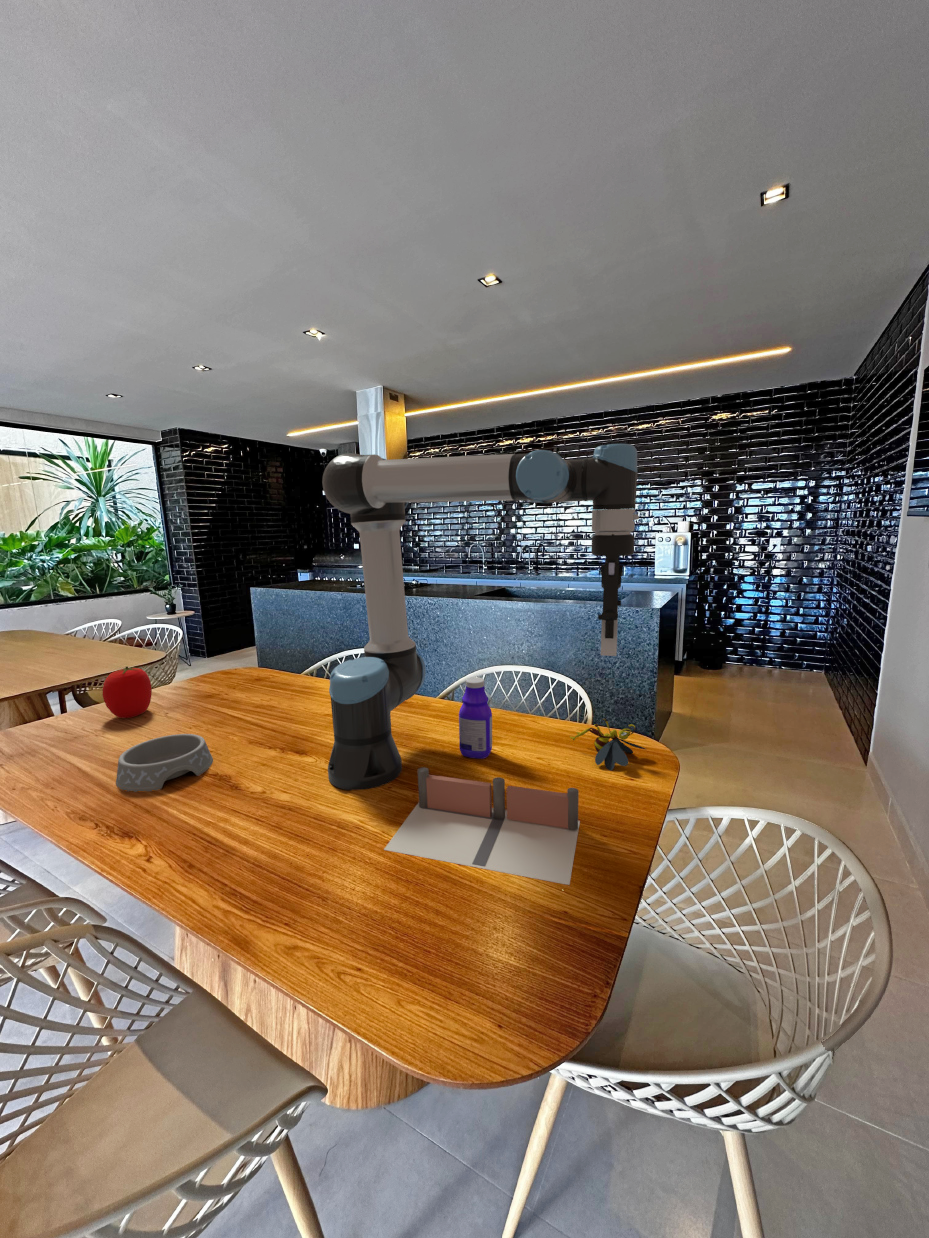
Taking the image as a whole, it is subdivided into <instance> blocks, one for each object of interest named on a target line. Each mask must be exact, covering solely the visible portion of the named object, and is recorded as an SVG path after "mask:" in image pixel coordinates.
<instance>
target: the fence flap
mask: <svg viewBox="0 0 929 1238" xmlns="http://www.w3.org/2000/svg"><path fill="white" fill-rule="evenodd" d="M579 795H580V794H579V789H578V788H575V787H569V788H567V791H566V792H558V791H557V792H556V791H550V790H543V789H536V788H529V787H521V786H516V785H515V786H513V785H508V786H507V787H506V810H507V819H511V820H517V821H524V822H530V823H536V824H543V825H549V826H556V827H562V828H568V829H570V830H577V829H578V821H579Z"/></svg>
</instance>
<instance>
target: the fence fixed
mask: <svg viewBox="0 0 929 1238" xmlns="http://www.w3.org/2000/svg"><path fill="white" fill-rule="evenodd" d="M505 782H506V780H505V778H504V777H499V776H497V777H494V778H493V779H492V783H491V782H487V781H486V782H484V781H478V780H471V779H462V778H456V777H449V776H448V777H447V776H442V775H434V774H430V772H429V768H428V767H425V766H424V767H419V768H418V769H417V789H418V803H419V807H420V808H433V809H440V810H446V811H452V812H459V813H465V814H471V815H478V816H484V817H491V815H492V808H493V810H494V819H496V820H503V819H504V818H505V810H506V786H505V785H506V783H505ZM492 794H493V795H492ZM492 797H493V799H492ZM492 801H493V804H492Z"/></svg>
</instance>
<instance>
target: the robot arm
mask: <svg viewBox="0 0 929 1238" xmlns="http://www.w3.org/2000/svg"><path fill="white" fill-rule="evenodd" d="M321 482H322V488H323V492H324V495H325V498H326V500H328V501H329V503H330V504H331V505H332V506H333V508H336V509H337V510H339V511H341V512H343V513H346V514H349V515H350V524H351V525H352V527H354V528H355V529H356V530H357V531H358V533H359V540H360V552H361V560H362V562H361V563H362V572H363V580H364V581H363V584H364V593H365V603H366V612H367V613H366V615H367V623H368V624H367V625H368V634H369V641H368V642H367V643H366V645H364V647H363V654H364V656H363V657H356V658H354V659H348V660H345V661H343V662H341V663H339V664H337V666H335V667H334V668H333V669H332V671H331V673H330V676H329V691H328V692H329V696H330V704H331V706H330V707H331V717H332V726H333V729H332V730H333V739H334V742H333V746H332V749H331V753H330V757H329V760H328V765H327V775H328V781H329V783H330V784H331V785H333V786H334V787H336V788H337V789H338V788H339V789H342V790H345V791H352V790H353V791H361V790H363V791H364V790H371V789H375V788H378V787H382V786H384V785H387V784H389V783H391V782H392V781H394V780H396V779H397V778H398V777H399V776H400V774H401V773H402V771H403V766H402V765H403V764H402V763H403V762H402V757H401V754H400V751H399V750H398V747H397V744H396V742H395V740H394V738H393V734H392V721H391V720H392V717H391V711H393V710H394V709H396V708H397V707H398V706H400V705H401V704H402V703H404V702H405V701H407V700H409V699H410V698H413V696H414V695H416V693H417V692H418V691H419V690H420V689H421V688H422V686H423V684H424V682H425V679H426V675H427V673H426V672H427V671H426V664H425V661H424V659H423V657H422V656H421V655H420V654H419V652H418V651H417V644H416V642H415V641H414V640H413V639H411V638H410V637H409V632H408V631H409V630H408V619H407V607H406V594H405V583H404V572H403V571H404V570H403V560H402V559H403V557H402V549H401V548H402V547H401V537H400V536H401V535H400V530H401V528H402V527H403V525H404V524H405V523H406V511H405V509H406V508H407V506H408V505H409V504H410V503H437V502H438V503H439V502H441V503H443V502H447V503H449V502H491V501H492V502H494V501H495V502H496V501H497V502H498V501H499V502H500V501H501V502H503V501H506V502H507V501H508V502H509V501H520V502H522V501H523V502H524V501H525V502H526V501H529V502H531V503H541V504H551V503H570V502H589V501H591V502H592V510H591V531H592V532H593V533H594V535H592V537H591V550H590V551H591V554H592V555H593V556H598V557H605V559H604V561H605V562H604V563H603V564H601V565H600V576H601V580H600V581H601V584H600V586H601V588H602V589H603V590H602V591H603V592H602V593H603V596H602V612H601V614H598V615H597V620H600V621H601V629H600V630H601V635H600V656H607V657H608V656H609V657H610V656H611V657H616V656H617V651H618V649H617V648H618V623H619V622H618V621H619V610H618V609H619V607H621V606H622V600H621V599H619V589H620V588H622V577H623V575H624V573H623V572H624V565H623V564H620V557H626V556H628V557H629V556H632V555H633V554H634V552H635V536H634V534H631V533H632V532H634V531H635V526H636V525H635V524H636V523H635V521H637V520H639V518H640V517H639V514H638V513H636V504H637V501H636V500H637V486H638V450H637V448H636V447H635V446H634V445H633V444H629V443H611V444H610V443H608V444H602V445H599V446H597V447H595V448H594V451H593V455H592V457H588V458H584V459H583V458H582V459H564V458H562V456H560V454H558V453H557V452H553V451H552V450H548V449H537V450H533V451H531V452H527V453H526V452H525V453H517V454H516V453H515V454H514V453H509V454H508V453H505V454H488V455H487V454H485V455H465V456H462V455H460V456H444V457H443V456H442V457H441V456H439V457H421V458H402V459H401V458H399V459H398V458H397V459H387V458H382V456H380V455H378V454H358V453H353V452H352V453H350V452H348V453H342V454H340V455H337V456H336V457H334V458H333V459H332V460H331V461H330V462H329V463H328V464H327V465H326V467H325V469H324V471H323V474H322V480H321ZM635 513H636V514H635Z"/></svg>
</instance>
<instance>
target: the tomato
mask: <svg viewBox="0 0 929 1238" xmlns="http://www.w3.org/2000/svg"><path fill="white" fill-rule="evenodd" d="M102 685H103V686H102V699H103V701H104V705H105V706H106V708H107V709H108V710H109V712H110V713H111V714H113V715H114V716H115V717H117V718H119V719H130V718H131V719H132V718H135V717H137V716H140V715H142V714H144V713H145V712H147V710H148V709H149V707H150V704H151V701H152V695H153V694H152V693H153V692H152V683H151V679H150V676H149V675H148V673H147V672H146V671H145V670H143V669H142V668H139V667H136V666H134V667H133V666H132V667H129V666H128V665H127V666H125V667H124V668H122V669H118V670H116V671H113V672H111V673H109V675H108V676H107V677H106V678H105V680H104V682H103V684H102Z"/></svg>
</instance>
